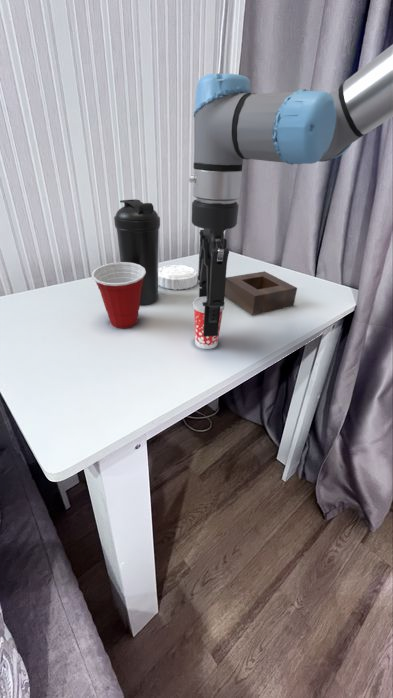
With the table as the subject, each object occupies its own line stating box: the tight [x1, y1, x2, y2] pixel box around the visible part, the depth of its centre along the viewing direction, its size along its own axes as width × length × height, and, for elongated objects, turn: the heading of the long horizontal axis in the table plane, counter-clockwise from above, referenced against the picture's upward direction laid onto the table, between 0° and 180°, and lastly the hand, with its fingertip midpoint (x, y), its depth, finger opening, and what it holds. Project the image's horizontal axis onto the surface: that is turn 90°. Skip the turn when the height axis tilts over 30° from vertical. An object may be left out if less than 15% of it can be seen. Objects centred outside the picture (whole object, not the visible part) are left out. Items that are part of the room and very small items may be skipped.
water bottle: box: [113, 198, 161, 306], centre depth 79 cm, size 10×10×23 cm
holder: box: [224, 271, 298, 316], centre depth 85 cm, size 13×13×5 cm
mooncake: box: [158, 264, 198, 291], centre depth 94 cm, size 12×12×4 cm
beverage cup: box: [192, 296, 226, 350], centre depth 64 cm, size 6×6×14 cm
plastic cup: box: [91, 261, 146, 329], centre depth 70 cm, size 11×11×12 cm
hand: (207, 326), depth 65 cm, fingers closed on beverage cup, 6 cm apart
